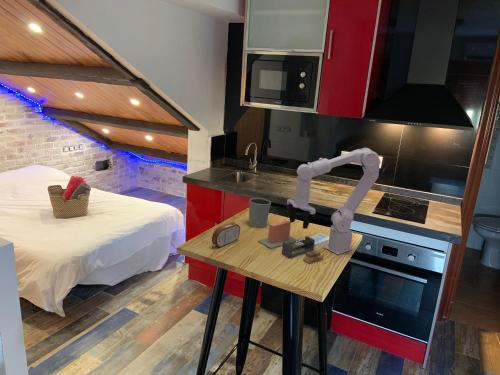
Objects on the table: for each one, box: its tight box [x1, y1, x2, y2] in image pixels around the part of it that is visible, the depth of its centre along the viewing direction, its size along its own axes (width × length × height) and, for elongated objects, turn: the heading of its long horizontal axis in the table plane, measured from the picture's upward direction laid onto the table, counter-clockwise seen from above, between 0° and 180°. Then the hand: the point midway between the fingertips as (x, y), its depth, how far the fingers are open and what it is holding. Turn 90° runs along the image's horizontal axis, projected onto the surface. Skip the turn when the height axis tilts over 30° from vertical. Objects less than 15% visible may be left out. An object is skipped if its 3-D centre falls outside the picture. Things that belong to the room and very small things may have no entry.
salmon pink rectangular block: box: [267, 219, 292, 244], centre depth 159 cm, size 10×2×8 cm, turn 128°
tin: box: [211, 221, 241, 248], centre depth 153 cm, size 15×3×8 cm, turn 141°
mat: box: [257, 235, 299, 250], centre depth 160 cm, size 16×8×1 cm, turn 128°
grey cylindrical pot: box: [248, 197, 272, 229], centre depth 176 cm, size 10×10×12 cm
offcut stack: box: [302, 249, 324, 265], centre depth 145 cm, size 8×3×4 cm, turn 127°
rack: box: [281, 235, 316, 259], centre depth 150 cm, size 14×5×5 cm, turn 128°
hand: (298, 225), depth 155 cm, fingers open, 7 cm apart
